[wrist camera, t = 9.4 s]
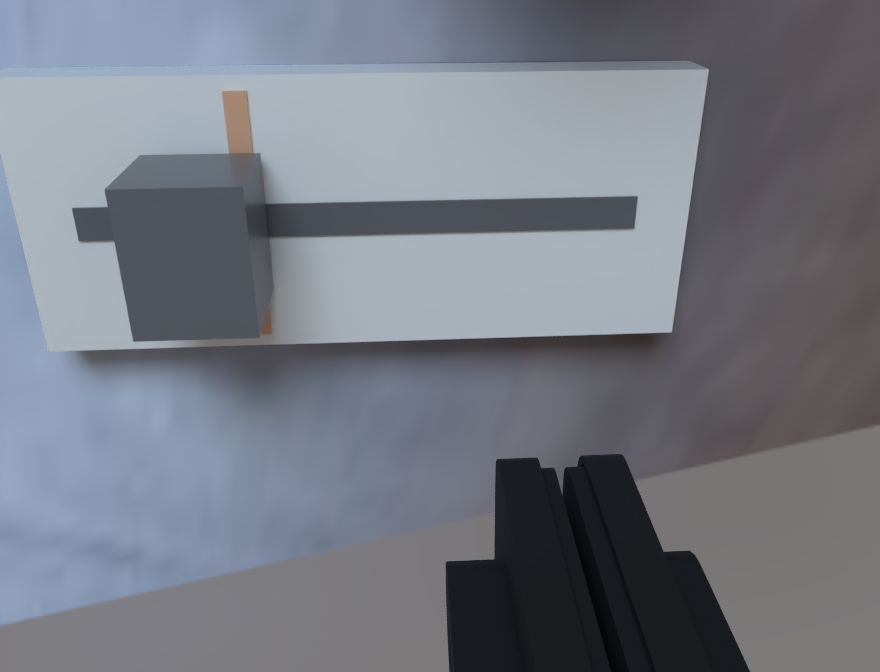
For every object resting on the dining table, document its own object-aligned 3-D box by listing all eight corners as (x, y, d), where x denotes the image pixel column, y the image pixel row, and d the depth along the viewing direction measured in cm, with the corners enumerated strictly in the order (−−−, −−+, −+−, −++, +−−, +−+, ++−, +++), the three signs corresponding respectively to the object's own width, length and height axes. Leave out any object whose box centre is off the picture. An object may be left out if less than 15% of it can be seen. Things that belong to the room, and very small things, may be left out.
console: (688, 60, 30) (709, 69, 28) (656, 311, 34) (672, 333, 32) (6, 67, 28) (-20, 78, 26) (66, 328, 33) (47, 352, 31)
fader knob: (260, 152, 28) (242, 187, 24) (273, 288, 30) (259, 337, 26) (139, 155, 28) (104, 189, 24) (162, 291, 30) (133, 341, 26)
